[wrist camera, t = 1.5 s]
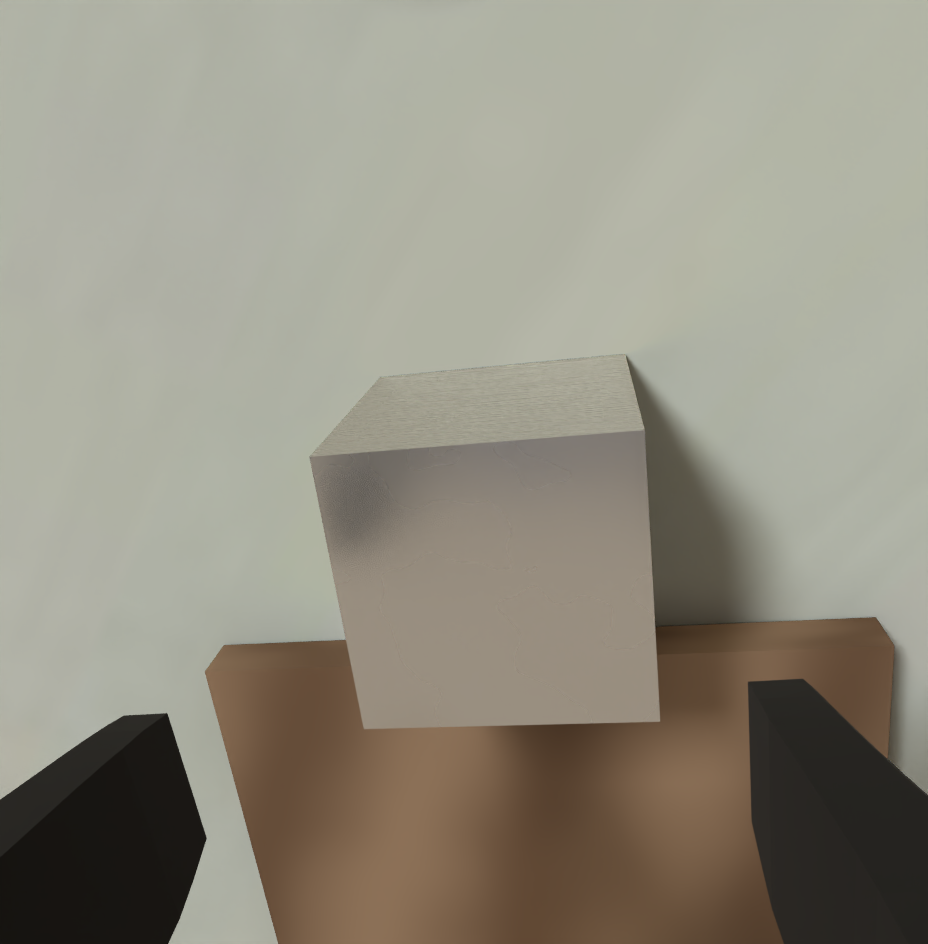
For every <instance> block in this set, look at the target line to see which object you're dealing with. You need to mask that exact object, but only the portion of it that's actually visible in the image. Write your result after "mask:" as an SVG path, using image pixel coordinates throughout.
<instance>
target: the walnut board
mask: <svg viewBox="0 0 928 944" xmlns="http://www.w3.org/2000/svg"><path fill="white" fill-rule="evenodd" d="M655 633H656V652H657V670H658V689H659V708H660V722H628V723H588V724H547V725H507V726H467V727H427V728H386V729H364V728H363V723H362V718H361V712H360V707H359V702H358V697H357V692H356V687H355V682H354V677H353V672H352V667H351V662H350V657H349V652H348V647H347V642H346V640H335V641H311V642H288V643H265V644H241V645H224V646H223V647H222V649H221V650H220V651H219V653H218V654H217V656H216V657H215V658H214V660H213V661H212V663H211V664H210V665H209V667H208V668H207V669H206V671H205V674H206V678H207V681H208V685H209V689H210V693H211V696H212V700H213V704H214V707H215V711H216V715H217V718H218V722H219V726H220V730H221V733H222V737H223V741H224V744H225V748H226V752H227V755H228V759H229V763H230V767H231V770H232V774H233V778H234V781H235V785H236V789H237V792H238V796H239V800H240V804H241V807H242V811H243V815H244V818H245V822H246V826H247V829H248V833H249V837H250V841H251V844H252V848H253V852H254V855H255V859H256V863H257V866H258V870H259V874H260V878H261V881H262V885H263V889H264V892H265V896H266V900H267V903H268V907H269V911H270V915H271V918H272V922H273V926H274V929H275V933H276V937H277V940H278V944H784V943H783V940H782V937H781V934H780V931H779V928H778V925H777V922H776V919H775V916H774V914H773V911H772V907H771V903H770V899H769V895H768V891H767V886H766V882H765V878H764V874H763V870H762V865H761V861H760V856H759V852H758V848H757V843H756V839H755V834H754V830H753V826H752V819H751V782H750V745H749V708H748V682H750V681H768V680H786V679H804V680H805V681H806V682H808V683H809V684H810V685H811V686H812V687H813V688H814V689H815V690H817V691H818V692H819V693H820V694H821V695H822V696H823V697H824V698H825V699H826V700H827V701H828V702H829V703H830V704H831V705H832V706H833V707H834V708H835V709H836V710H837V711H838V712H839V713H840V714H841V715H842V716H843V717H844V718H845V719H846V720H847V721H848V722H849V723H850V724H851V725H852V726H853V727H854V728H855V729H856V730H857V731H858V732H859V733H860V734H861V735H863V736H864V737H865V738H866V739H867V740H868V741H869V742H870V743H871V744H872V745H873V746H874V747H875V748H876V749H877V750H878V751H879V752H880V753H881V754H883V755H884V756H885V757H886V758H887V759H888V745H889V729H890V712H891V695H892V679H893V662H894V644H893V643H892V641H891V640H890V638H889V637H888V635H887V634H886V632H885V631H884V629H883V628H882V626H881V625H880V623H879V622H878V620H877V618H876V617H872V618H849V619H826V620H802V621H779V622H756V623H732V624H709V625H685V626H662V627H655Z"/></svg>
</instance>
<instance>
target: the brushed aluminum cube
mask: <svg viewBox="0 0 928 944" xmlns="http://www.w3.org/2000/svg"><path fill="white" fill-rule="evenodd" d="M310 462H311V467H312V472H313V477H314V482H315V487H316V492H317V497H318V502H319V507H320V512H321V517H322V522H323V527H324V532H325V537H326V542H327V547H328V552H329V557H330V562H331V567H332V572H333V577H334V582H335V587H336V592H337V597H338V602H339V607H340V612H341V617H342V622H343V627H344V632H345V637H346V642H347V647H348V652H349V657H350V662H351V667H352V672H353V677H354V682H355V687H356V692H357V697H358V702H359V707H360V712H361V718H362V723H363V728H364V729H386V728H427V727H467V726H507V725H547V724H588V723H628V722H660V708H659V689H658V670H657V652H656V633H655V614H654V595H653V576H652V557H651V538H650V519H649V501H648V482H647V463H646V444H645V429H644V425H643V421H642V417H641V413H640V410H639V406H638V402H637V398H636V394H635V390H634V386H633V383H632V379H631V375H630V371H629V367H628V363H627V359H626V356H625V354H620V355H610V356H599V357H588V358H578V359H567V360H557V361H546V362H536V363H525V364H515V365H504V366H493V367H483V368H472V369H462V370H451V371H441V372H430V373H419V374H409V375H398V376H388V377H380V378H379V379H378V380H377V381H376V382H375V383H374V384H373V386H372V387H371V388H370V389H369V390H368V391H367V392H366V393H365V395H364V396H363V397H362V398H361V399H360V400H359V401H358V403H357V404H356V405H355V406H354V407H353V408H352V409H351V410H350V412H349V413H348V414H347V415H346V416H345V417H344V418H343V419H342V421H341V422H340V423H339V424H338V425H337V426H336V427H335V428H334V430H333V431H332V432H331V433H330V434H329V435H328V436H327V438H326V439H325V440H324V441H323V442H322V443H321V444H320V445H319V447H318V448H317V449H316V450H315V451H314V452H313V453H312V454H311V456H310Z"/></svg>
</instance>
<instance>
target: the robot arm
mask: <svg viewBox="0 0 928 944" xmlns="http://www.w3.org/2000/svg"><path fill="white" fill-rule="evenodd" d="M748 708H749V745H750V782H751V819H752V826H753V830H754V834H755V839H756V843H757V848H758V852H759V856H760V861H761V865H762V870H763V874H764V878H765V882H766V886H767V891H768V895H769V899H770V903H771V907H772V911H773V914H774V916H775V919H776V922H777V925H778V928H779V931H780V934H781V937H782V940H783V943H784V944H928V795H927V794H926V793H925V792H924V791H922V790H921V789H920V788H919V787H918V786H917V785H916V784H915V783H913V782H912V781H911V780H910V779H909V778H908V777H907V776H905V775H904V774H903V773H902V772H901V771H900V770H899V769H898V768H897V767H896V766H894V765H893V764H892V763H891V762H890V761H889V760H888V759H887V758H886V757H885V756H884V755H883V754H881V753H880V752H879V751H878V750H877V749H876V748H875V747H874V746H873V745H872V744H871V743H870V742H869V741H868V740H867V739H866V738H865V737H864V736H863V735H861V734H860V733H859V732H858V731H857V730H856V729H855V728H854V727H853V726H852V725H851V724H850V723H849V722H848V721H847V720H846V719H845V718H844V717H843V716H842V715H841V714H840V713H839V712H838V711H837V710H836V709H835V708H834V707H833V706H832V705H831V704H830V703H829V702H828V701H827V700H826V699H825V698H824V697H823V696H822V695H821V694H820V693H819V692H818V691H817V690H815V689H814V688H813V687H812V686H811V685H810V684H809V683H808V682H806V681H805V680H804V679H786V680H768V681H750V682H748ZM206 839H207V838H206V835H205V832H204V828H203V825H202V822H201V819H200V816H199V812H198V809H197V806H196V803H195V800H194V797H193V793H192V790H191V787H190V784H189V781H188V778H187V774H186V771H185V768H184V765H183V762H182V759H181V755H180V752H179V749H178V746H177V743H176V740H175V736H174V733H173V730H172V727H171V724H170V720H169V717H168V714H167V713H165V714H147V715H129V716H122V717H121V718H119V719H117V720H116V721H114V722H112V723H111V724H109V725H107V726H106V727H104V728H103V729H101V730H99V731H98V732H96V733H95V734H93V735H92V736H90V737H89V738H87V739H86V740H84V741H83V742H81V743H80V744H79V745H77V746H76V747H74V748H73V749H71V750H70V751H68V752H67V753H66V754H64V755H63V756H61V757H60V758H58V759H57V760H56V761H54V762H53V763H51V764H50V765H49V766H47V767H46V768H44V769H43V770H41V771H40V772H39V773H37V774H36V775H34V776H33V777H32V778H30V779H29V780H27V781H26V782H25V783H23V784H22V785H20V786H19V787H18V788H16V789H15V790H13V791H12V792H10V793H9V794H8V795H6V796H5V797H3V798H2V799H1V800H0V944H168V943H169V941H170V939H171V936H172V934H173V932H174V930H175V928H176V925H177V923H178V921H179V919H180V916H181V914H182V911H183V908H184V905H185V902H186V900H187V897H188V894H189V891H190V888H191V885H192V883H193V880H194V876H195V873H196V870H197V867H198V864H199V861H200V858H201V854H202V851H203V848H204V845H205V842H206Z"/></svg>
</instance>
